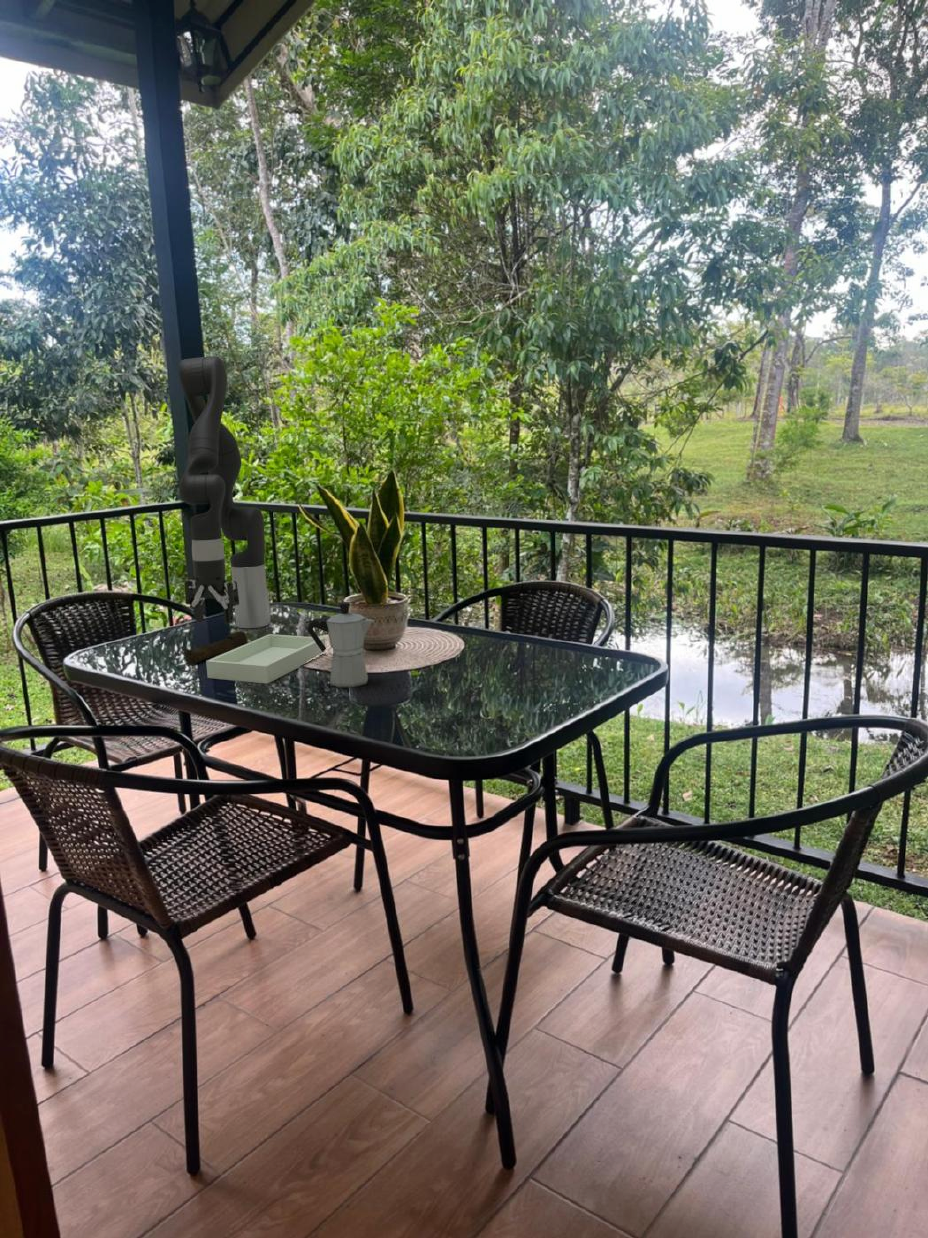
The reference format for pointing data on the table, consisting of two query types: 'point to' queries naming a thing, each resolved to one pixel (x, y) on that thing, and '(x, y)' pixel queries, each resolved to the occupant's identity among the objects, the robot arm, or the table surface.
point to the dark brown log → (216, 648)
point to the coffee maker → (344, 645)
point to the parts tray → (264, 658)
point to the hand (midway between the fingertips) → (213, 622)
